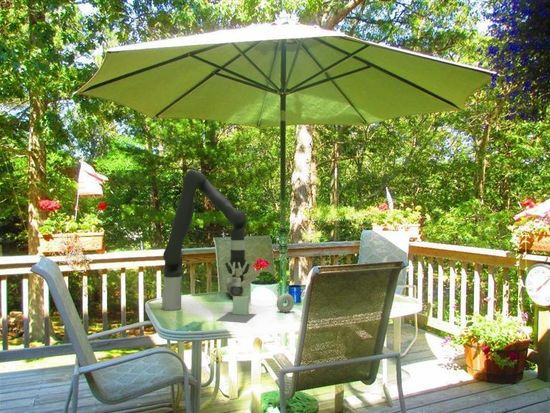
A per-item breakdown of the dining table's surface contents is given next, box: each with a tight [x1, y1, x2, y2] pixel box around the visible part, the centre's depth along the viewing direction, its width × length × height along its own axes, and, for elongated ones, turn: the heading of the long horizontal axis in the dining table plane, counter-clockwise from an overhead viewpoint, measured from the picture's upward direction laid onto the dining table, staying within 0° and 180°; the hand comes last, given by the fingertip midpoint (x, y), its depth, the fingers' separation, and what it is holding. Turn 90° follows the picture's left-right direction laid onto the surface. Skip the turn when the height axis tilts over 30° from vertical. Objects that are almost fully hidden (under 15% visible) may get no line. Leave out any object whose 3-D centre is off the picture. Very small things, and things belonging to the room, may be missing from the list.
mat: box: [215, 311, 257, 324], centre depth 229 cm, size 15×18×1 cm
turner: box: [226, 274, 247, 287], centre depth 243 cm, size 7×16×4 cm, turn 165°
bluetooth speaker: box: [225, 283, 244, 298], centre depth 285 cm, size 23×9×10 cm, turn 10°
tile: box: [232, 295, 250, 315], centre depth 235 cm, size 8×1×9 cm, turn 76°
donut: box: [276, 292, 295, 314], centre depth 243 cm, size 10×4×10 cm, turn 119°
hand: (238, 281), depth 242 cm, fingers closed on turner, 3 cm apart
